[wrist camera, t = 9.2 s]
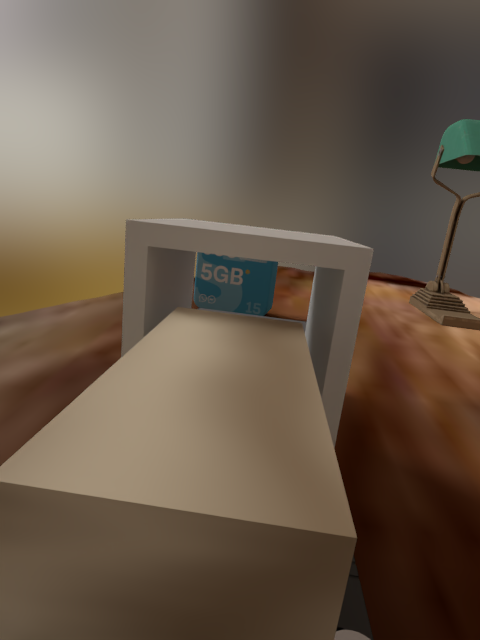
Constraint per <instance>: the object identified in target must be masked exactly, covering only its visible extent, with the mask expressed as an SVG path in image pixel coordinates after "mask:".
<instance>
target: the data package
mask: <svg viewBox="0 0 480 640" xmlns="http://www.w3.org/2000/svg"><path fill="white" fill-rule="evenodd" d="M277 266H278V262H275V261H267V260H259V259H251V258H242V257H234V256H226V255H218V254H210V253H201V252H198V253H197V265H196V277H195V289H194V302H195V304H196V305H197V306H198V307H199V308H204V309H212V310H219V311H227V312H235V313H243V314H250V315H258V316H264V315H265V314H266V313H267V312H268V311H269V310H270V309H271V307H272V303H273V296H274V288H275V281H276V274H277Z"/></svg>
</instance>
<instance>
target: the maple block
mask: <svg viewBox="0 0 480 640" xmlns="http://www.w3.org/2000/svg"><path fill="white" fill-rule="evenodd" d="M356 541H357V535H356V532H355V528H354V524H353V520H352V516H351V512H350V508H349V504H348V500H347V496H346V493H345V489H344V485H343V481H342V477H341V473H340V469H339V465H338V461H337V457H336V454H335V450H334V446H333V442H332V438H331V434H330V430H329V426H328V422H327V419H326V415H325V411H324V407H323V403H322V399H321V395H320V391H319V387H318V383H317V380H316V376H315V372H314V368H313V364H312V360H311V356H310V352H309V348H308V345H307V341H306V337H305V333H304V329H303V325H302V323H298V322H291V321H283V320H275V319H267V318H260V317H252V316H244V315H237V314H229V313H221V312H213V311H206V310H198V309H190V308H182V307H177V308H176V309H175V310H174V311H173V312H172V313H170V314H169V315H168V316H167V317H166V318H165V319H164V320H163V321H162V322H160V323H159V324H158V325H157V326H156V327H155V328H154V329H153V330H152V331H150V332H149V333H148V334H147V335H146V336H145V337H144V338H143V339H142V340H140V341H139V342H138V343H137V344H136V345H135V346H134V347H133V348H132V349H130V350H129V351H128V352H127V353H126V354H125V355H124V356H123V357H122V358H120V359H119V360H118V361H117V362H116V363H115V364H114V365H113V366H112V367H110V368H109V369H108V370H107V371H106V372H105V373H104V374H103V375H102V376H100V377H99V378H98V379H97V380H96V381H95V382H94V383H93V384H92V385H90V386H89V387H88V388H87V389H86V390H85V391H84V392H83V393H82V394H80V395H79V396H78V397H77V398H76V399H75V400H74V401H73V402H72V403H70V404H69V405H68V406H67V407H66V408H65V409H64V410H63V411H62V412H60V413H59V414H58V415H57V416H56V417H55V418H54V419H53V420H52V421H50V422H49V423H48V424H47V425H46V426H45V427H44V428H43V429H42V430H40V431H39V432H38V433H37V434H36V435H35V436H34V437H33V438H32V439H30V440H29V441H28V442H27V443H26V444H25V445H24V446H23V447H22V448H20V449H19V450H18V451H17V452H16V453H15V454H14V455H13V456H12V457H10V458H9V459H8V460H7V461H6V462H5V463H4V464H3V465H2V466H0V640H334V638H335V633H336V629H337V625H338V620H339V616H340V611H341V607H342V603H343V598H344V594H345V589H346V585H347V581H348V576H349V572H350V567H351V563H352V559H353V554H354V550H355V545H356Z"/></svg>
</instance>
